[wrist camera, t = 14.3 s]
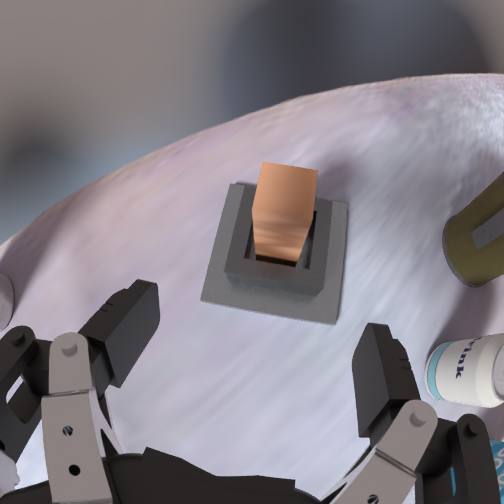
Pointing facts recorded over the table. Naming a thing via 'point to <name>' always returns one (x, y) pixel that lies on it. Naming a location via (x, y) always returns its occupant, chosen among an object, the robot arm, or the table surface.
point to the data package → (500, 450)
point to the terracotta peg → (282, 212)
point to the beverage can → (468, 371)
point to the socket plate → (274, 275)
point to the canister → (478, 237)
